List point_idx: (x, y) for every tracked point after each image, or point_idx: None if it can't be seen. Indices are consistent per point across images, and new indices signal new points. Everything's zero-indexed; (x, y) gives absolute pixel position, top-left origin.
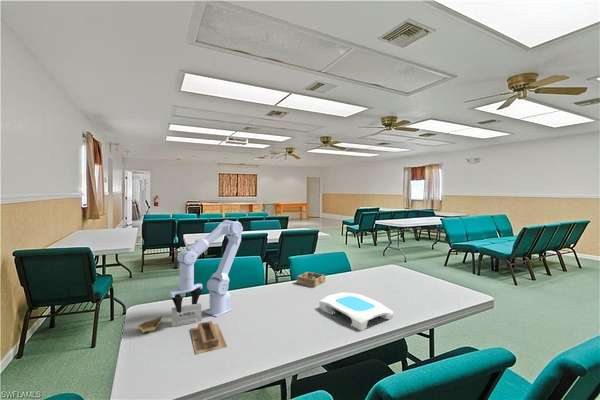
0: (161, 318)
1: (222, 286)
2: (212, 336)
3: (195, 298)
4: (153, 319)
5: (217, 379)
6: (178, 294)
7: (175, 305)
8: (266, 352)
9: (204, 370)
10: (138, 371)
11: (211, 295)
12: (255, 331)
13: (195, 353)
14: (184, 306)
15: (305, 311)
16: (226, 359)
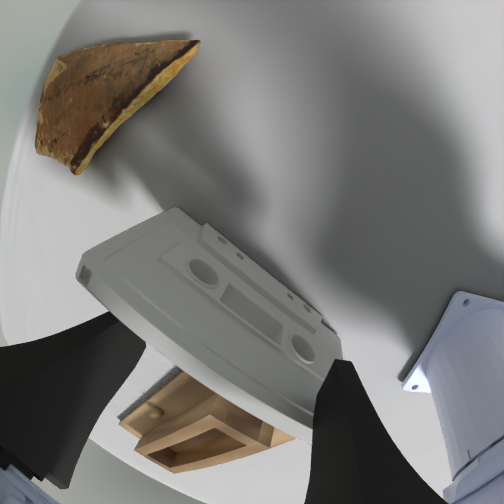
0: (172, 66)
1: None
2: (195, 451)
3: (315, 481)
4: (121, 50)
5: (120, 456)
6: (9, 474)
7: (71, 335)
8: (231, 501)
9: (114, 440)
10: (19, 330)
11: (471, 465)
12: None
13: (119, 423)
14: (188, 373)
15: None
16: None
